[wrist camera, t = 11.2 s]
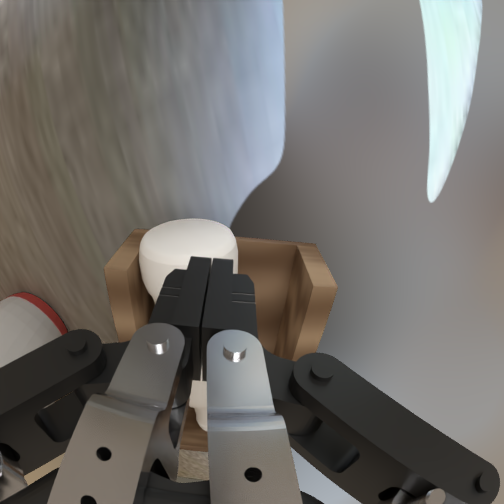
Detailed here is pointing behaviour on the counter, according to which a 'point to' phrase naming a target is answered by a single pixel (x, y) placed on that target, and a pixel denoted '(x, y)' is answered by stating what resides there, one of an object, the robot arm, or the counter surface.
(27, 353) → the robot arm
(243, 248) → the brown wooden open box
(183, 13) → the counter surface
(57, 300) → the counter surface
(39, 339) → the citrus juicer
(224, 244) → the bottle
